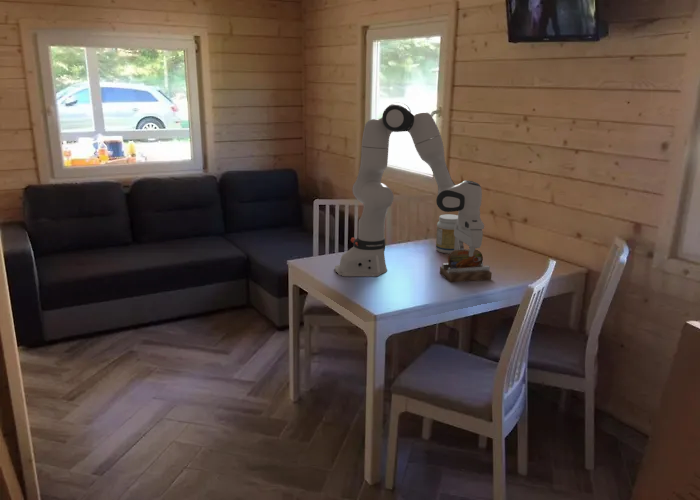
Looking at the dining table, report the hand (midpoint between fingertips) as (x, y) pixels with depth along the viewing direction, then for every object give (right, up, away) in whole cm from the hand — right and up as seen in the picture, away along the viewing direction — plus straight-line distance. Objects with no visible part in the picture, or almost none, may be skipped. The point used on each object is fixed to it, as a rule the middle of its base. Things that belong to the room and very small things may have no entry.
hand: (465, 252), depth 250 cm
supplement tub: (-1, +1, +40) cm, 40 cm away
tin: (0, -7, +3) cm, 8 cm away
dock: (0, -10, +3) cm, 10 cm away
